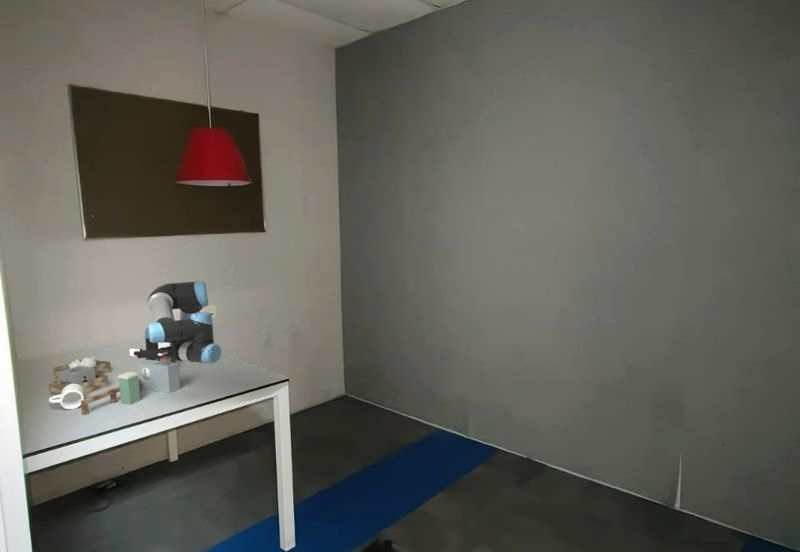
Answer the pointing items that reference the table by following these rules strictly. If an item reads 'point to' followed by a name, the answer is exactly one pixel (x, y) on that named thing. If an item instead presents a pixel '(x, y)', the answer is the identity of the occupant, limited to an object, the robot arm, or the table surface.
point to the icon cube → (76, 375)
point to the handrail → (112, 396)
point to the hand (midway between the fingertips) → (145, 348)
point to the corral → (88, 386)
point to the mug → (69, 396)
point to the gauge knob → (165, 360)
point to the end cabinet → (158, 376)
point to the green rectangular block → (129, 388)
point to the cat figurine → (83, 362)
